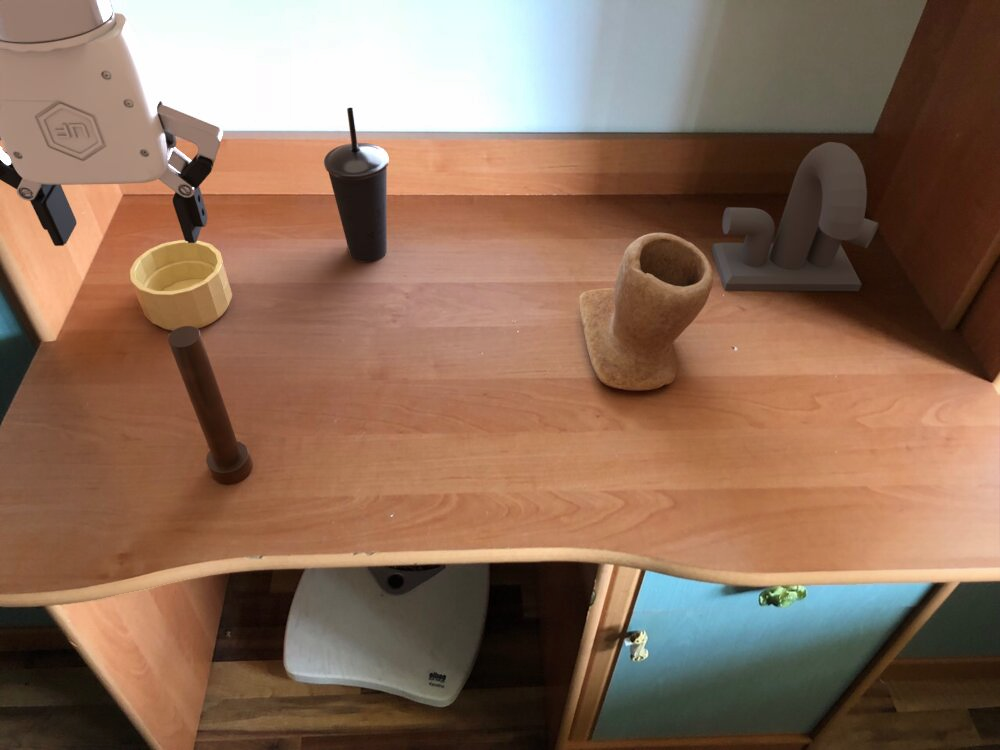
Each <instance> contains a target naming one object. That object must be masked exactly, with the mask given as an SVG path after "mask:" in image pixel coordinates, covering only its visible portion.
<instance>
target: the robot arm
mask: <svg viewBox="0 0 1000 750" xmlns="http://www.w3.org/2000/svg"><path fill="white" fill-rule="evenodd" d="M177 138H179V139H182V140H185V141H187V142H190V143H192V144H194V145H195V146H196V147H197V154H196V155H194V157H193V158H192V159H191V158H189V157H187V155H185V154H184V153H183V152H181V151H180V150H179V149H178V148H176V146H177ZM223 138H224V131H223V130H222V129H221V128H220V127H218V126H216V125H214V124H211V123H209V122H207V121H204V120H201V119H199V118H196V117H194V116H192V115H190V114H187V113H185V112H182V111H180V110H177V109H175V108H172V107H170V106H167V103H166V101H165V98H164V95H163V93H162V90H161V87H160V85H159V82H158V80H157V77H156V75H155V73H154V70H153V68H152V66H151V63H150V62H149V60H148V57H147V56H146V53H145V51H144V49H143V47H142V45H141V43H140V41H139V40H138V38H137V36H136V34H135V32H134V30H133V29H132V27H131V25H130V23H129V21H128V20H127V18H126V17H125V15H124V14H123V13H118V12H114V9H113V6H112V2H111V0H0V141H1V143H2V145H3V147H4V149H5V151H4V150H3V147H2V146H0V181H2V182H3V183H5V184H6V185H8V186H10V187H12V189H13V188H14V189H15V190H16V193H17V195H18V197H20V199H22V200H25V201H29V202H30V204H31V206H32V208H33V210H34V213H35V215H36V217H37V218H38V221H39V223H40V225H41V227H42V229H43V230H45V231H47V233H48V235H49V237H50V240H51V241H52V243H53V245H54V246H55V247H64V246H65V245H66V244H67V243H68V241H69V239H70V237H71V235H72V234H73V232H74V230H75V228H76V226H77V219H76V217H75V215H74V212H73V210H72V207H71V205H70V203H69V200H68V197H67V196H66V193H65V191H64V189H63V187H62V186H69V185H73V186H74V185H76V186H77V185H80V186H81V185H83V186H84V185H124V184H125V185H126V184H128V185H129V184H145V183H150V182H154V181H157V180H159V181H160V182H162V183H163V184H164V185H165V186H167V187H168V188H170V189H171V190H172V191H174V194H173V197H172V205H173V207H174V211H175V214H176V218H177V220H178V223H179V226H180V230H181V233H182V235H183V238H184V239H183V240H185V241H187V242H188V243H196V242H197V240H198V239H199V236H200V232H201V230H202V228H204V227H206V226H207V224H208V212H207V208H206V204H205V201H204V198H203V195H202V191H201V188H200V186H201V184H203V182H204V181H205V180H206V179H207V177H208V176H209V175H210V174H211V173H212V170H213V169H214V165H215V162H216V159H217V156H218V153H219V150H220V146H221V144H222V140H223Z"/></svg>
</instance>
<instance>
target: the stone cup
mask: <svg viewBox="0 0 1000 750" xmlns="http://www.w3.org/2000/svg"><path fill="white" fill-rule="evenodd" d="M713 283H714V272H713V268H712V265H711V263H710V261H709V260H708V258H707V257H706V255H705V254H704V253H703V252H702V251H701V250H700V249H699V248H698V247H697V246H696V245H694V244H693V243H692V242H690V241H689V240H688V241H687V240H685V238H682V237H680V236H678V235H675V234H672V233H668V232H667V233H666V232H650V233H647V234H644V235H641V236H639V237H638V238H637V239H635V240H633V241H632V242H631V243H630V244H629V245H628V246H627V248H626V249H625V251H624V253H623V255H622V258H621V262H620V265H619V267H618V270H617V275H616V278H615V281H614V287H613V288H610V287H609V288H606V287H605V288H597V289H596V288H595V289H589V290H586V291H584V292H582V293H581V294H580V295H579V298H578V300H579V309H580V318H581V323H582V327H583V332H584V333H583V334H584V339H585V343H586V349H587V352H588V355H589V356H588V357H589V360H590V363H591V366H592V369H593V371H594V373H595V375H596V376H597V378H598V380H599V381H601V383H602V384H604V385H606V386H608V387H611V388H614V389H619V390H625V391H637V392H639V391H650V390H651V391H652V390H656V389H659V388H661V387H663V386H664V385H665V386H666V385H669V384H671V383H673V381H674V380H675V377H676V372H677V366H676V364H677V363H676V361H677V360H676V351H675V346H674V342H675V341H676V340H677V339H678V337H680V335H682V333H683V332H685V330H686V329H687V328H688V327H689V326H690V325H691V324H692V323H693V322H694V320H695V319H696V318H697V317H698V315H699V314H700V313H701V312H702V310H703V308H704V307H705V306H706V303H707V302H708V299H709V297H710V294H711V291H712V288H713Z"/></svg>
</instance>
